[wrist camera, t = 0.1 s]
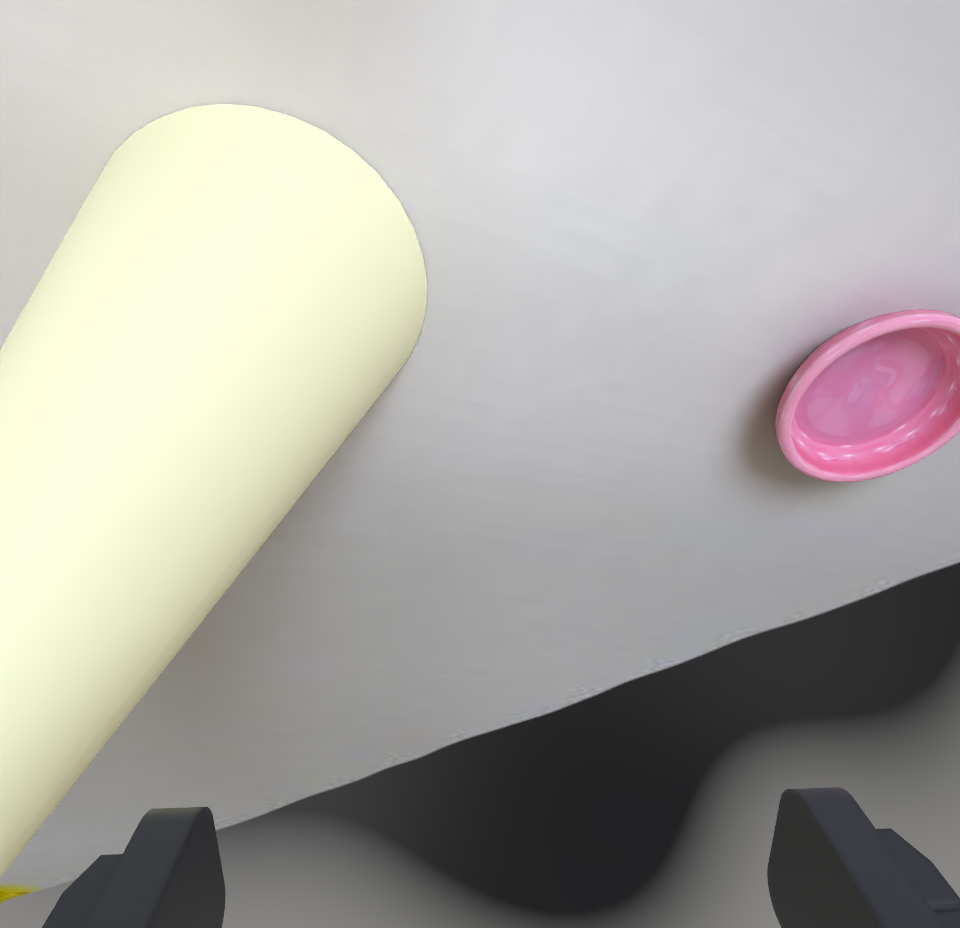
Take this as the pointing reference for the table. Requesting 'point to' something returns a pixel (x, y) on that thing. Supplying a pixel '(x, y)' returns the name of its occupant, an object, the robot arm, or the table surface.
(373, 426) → the table surface
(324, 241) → the cone light
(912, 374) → the saucer
